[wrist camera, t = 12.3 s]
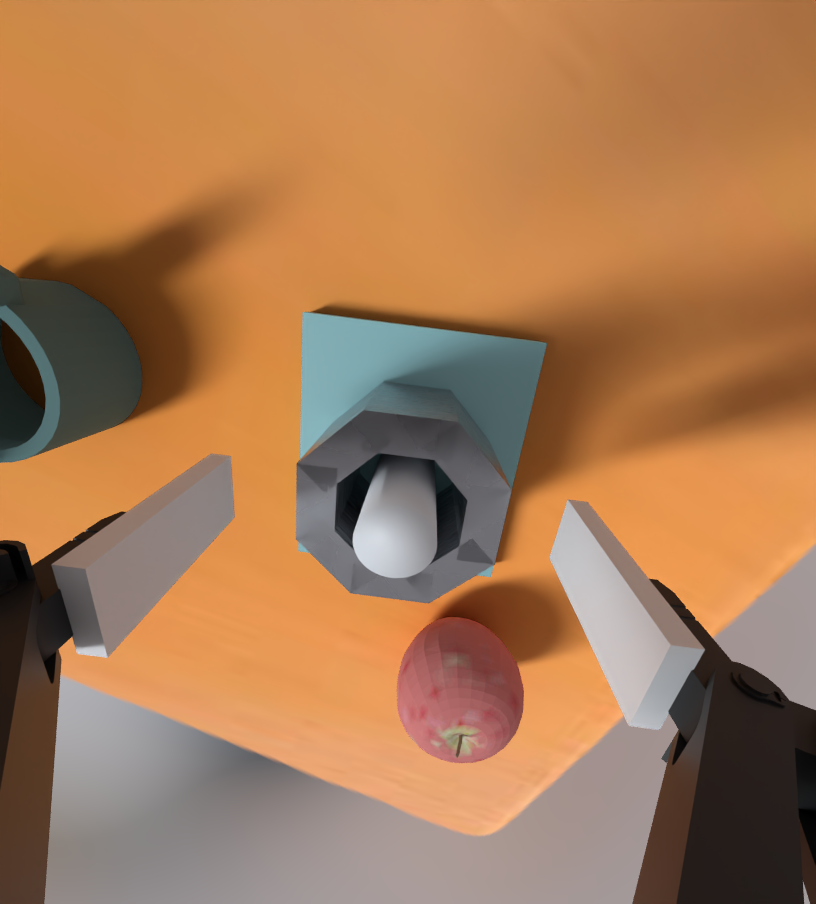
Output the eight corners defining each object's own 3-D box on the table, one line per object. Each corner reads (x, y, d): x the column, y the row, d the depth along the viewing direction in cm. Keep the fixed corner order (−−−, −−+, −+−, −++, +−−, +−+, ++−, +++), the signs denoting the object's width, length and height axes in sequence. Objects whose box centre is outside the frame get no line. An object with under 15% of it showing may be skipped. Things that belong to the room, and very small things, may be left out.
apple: (384, 649, 27) (367, 776, 20) (430, 576, 25) (430, 689, 17) (473, 685, 28) (489, 821, 21) (526, 618, 26) (566, 744, 18)
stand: (310, 312, 20) (214, 312, 11) (540, 341, 19) (628, 365, 11) (304, 540, 24) (235, 664, 16) (487, 564, 24) (519, 703, 16)
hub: (335, 375, 19) (296, 401, 14) (498, 395, 19) (525, 429, 14) (329, 517, 22) (295, 586, 17) (470, 535, 22) (484, 610, 17)
